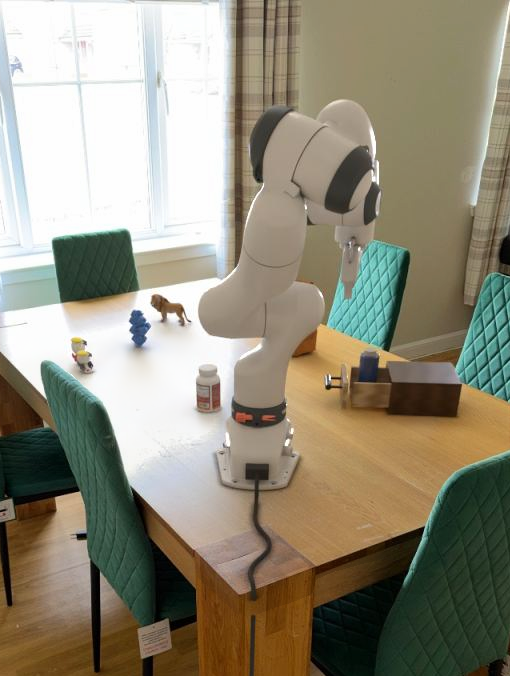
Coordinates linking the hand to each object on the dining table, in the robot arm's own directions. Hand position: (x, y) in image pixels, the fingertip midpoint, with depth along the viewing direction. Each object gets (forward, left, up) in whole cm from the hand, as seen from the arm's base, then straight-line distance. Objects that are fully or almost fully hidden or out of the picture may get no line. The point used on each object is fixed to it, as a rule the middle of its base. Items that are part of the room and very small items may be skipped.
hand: (349, 292), depth 179 cm
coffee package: (+40, +12, -29) cm, 50 cm away
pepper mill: (+1, -7, -26) cm, 27 cm away
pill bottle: (-6, +34, -29) cm, 45 cm away
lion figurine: (+65, +55, -29) cm, 89 cm away
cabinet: (+1, -20, -29) cm, 35 cm away
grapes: (+40, +60, -29) cm, 77 cm away
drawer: (+1, -6, -28) cm, 28 cm away
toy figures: (+20, +74, -29) cm, 81 cm away
